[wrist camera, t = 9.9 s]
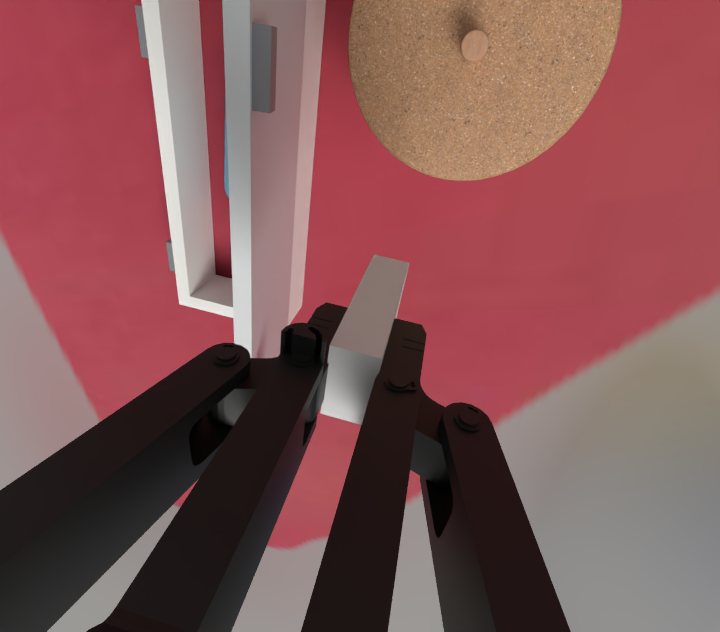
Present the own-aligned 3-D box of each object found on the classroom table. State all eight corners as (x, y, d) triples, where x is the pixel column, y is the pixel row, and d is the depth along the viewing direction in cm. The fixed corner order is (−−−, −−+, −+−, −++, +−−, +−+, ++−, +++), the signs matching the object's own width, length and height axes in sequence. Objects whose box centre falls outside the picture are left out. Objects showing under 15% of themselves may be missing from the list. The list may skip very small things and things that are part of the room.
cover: (217, -117, 10) (272, -107, 10) (291, -41, 19) (321, -36, 19) (237, 438, 22) (262, 441, 22) (277, 334, 31) (295, 336, 31)
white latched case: (171, -47, 23) (122, -65, 20) (327, -21, 22) (303, -37, 19) (199, 280, 35) (172, 302, 32) (301, 306, 34) (284, 331, 31)
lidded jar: (366, 137, 26) (325, 166, 18) (396, -87, 20) (354, -183, 13) (531, 167, 25) (562, 212, 17) (613, -62, 19) (715, -151, 11)
